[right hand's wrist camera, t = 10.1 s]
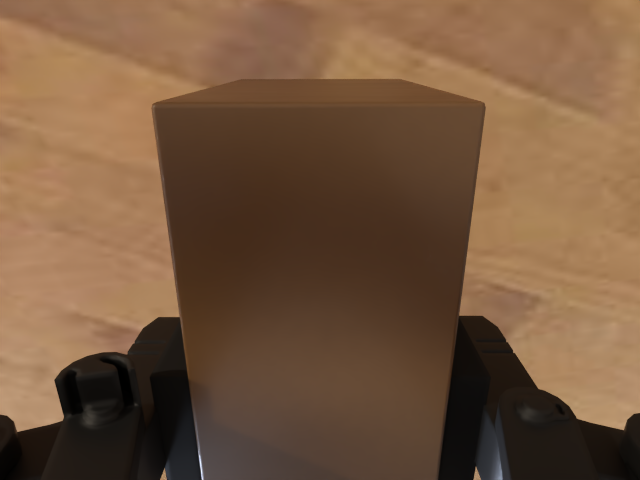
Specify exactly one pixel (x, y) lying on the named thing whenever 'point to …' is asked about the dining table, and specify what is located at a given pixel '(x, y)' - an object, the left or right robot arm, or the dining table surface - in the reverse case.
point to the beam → (319, 270)
